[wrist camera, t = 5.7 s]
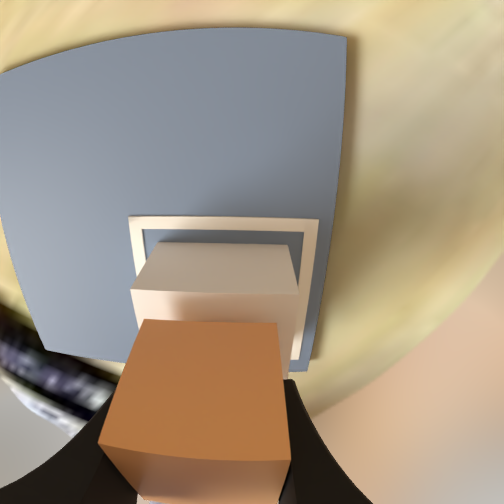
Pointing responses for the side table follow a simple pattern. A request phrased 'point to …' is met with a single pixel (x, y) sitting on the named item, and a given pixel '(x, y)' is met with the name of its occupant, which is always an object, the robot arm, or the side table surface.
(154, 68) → the board
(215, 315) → the base block
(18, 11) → the side table surface
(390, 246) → the side table surface
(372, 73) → the side table surface
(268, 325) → the orange block
